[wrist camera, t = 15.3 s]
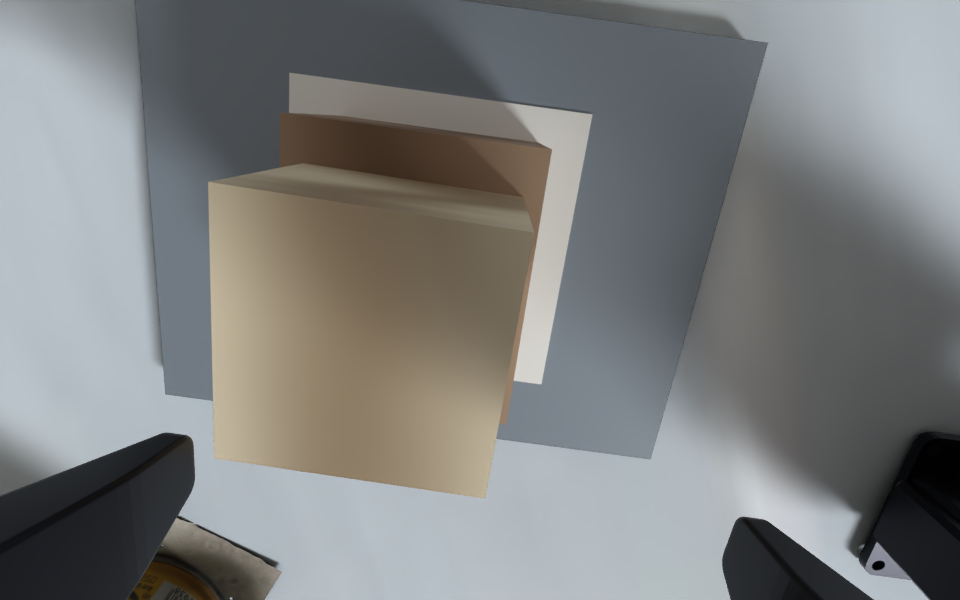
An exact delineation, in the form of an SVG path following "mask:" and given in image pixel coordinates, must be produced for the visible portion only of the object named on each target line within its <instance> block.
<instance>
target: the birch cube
mask: <svg viewBox="0 0 960 600" xmlns="http://www.w3.org/2000/svg"><path fill="white" fill-rule="evenodd" d="M208 200H209V245H210V289H211V333H212V378H213V422H214V458H216V459H223V460H229V461H236V462H243V463H250V464H256V465H263V466H270V467H277V468H283V469H290V470H297V471H303V472H310V473H317V474H324V475H330V476H337V477H344V478H351V479H357V480H364V481H371V482H378V483H384V484H391V485H398V486H405V487H411V488H418V489H425V490H432V491H438V492H445V493H452V494H458V495H465V496H472V497H479V498H485V497H486V491H487V486H488V480H489V475H490V470H491V464H492V459H493V453H494V448H495V443H496V437H497V432H498V426H499V421H500V416H501V410H502V405H503V399H504V394H505V389H506V383H507V378H508V372H509V367H510V362H511V356H512V351H513V345H514V340H515V335H516V329H517V324H518V318H519V313H520V308H521V302H522V297H523V291H524V286H525V281H526V275H527V270H528V264H529V259H530V254H531V248H532V243H533V237H534V229H533V226H532V223H531V220H530V217H529V213H528V210H527V207H526V204H525V201H524V197H518V196H512V195H505V194H499V193H492V192H486V191H480V190H473V189H467V188H460V187H454V186H447V185H441V184H435V183H428V182H422V181H415V180H409V179H402V178H396V177H390V176H383V175H377V174H370V173H364V172H357V171H351V170H345V169H338V168H332V167H325V166H319V165H312V164H306V163H301V164H296V165H291V166H286V167H281V168H276V169H271V170H266V171H261V172H256V173H251V174H246V175H241V176H235V177H230V178H225V179H220V180H215V181H210V182H208Z"/></svg>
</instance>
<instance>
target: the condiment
mask: <svg viewBox="0 0 960 600" xmlns="http://www.w3.org/2000/svg"><path fill="white" fill-rule="evenodd" d="M162 544H163V545H164V547H161V548H159V549H158V551H157V552H156V554H155V556H154V557H153V559H152V561H151V563H150V564H149V566H148V568H147V569H146V571H145V573H144V574H143V576H142V578H141V579H140V581H139V582H138V584H137V585H136V587H135V588H134V590H133V591H132V593H131V594H130V595H129V597H128V598H127V600H230V599H229V598H230V597H232V598H233V600H265V598H266V596H267V595H268V593H269V592H270V590H271V588H272V587H273V585H274V584H275V582H276V581H277V579H278V577H279V576H280V574H281V573H282V572H281V571H279V570H277V569H276V568H274V567H272V566H270V565H268V564H266V563H265V562H264V561H263V560H262V559H260V558H258V557H255V556H253V555H252V554H250V553H248V552H246V551H244V550H242V549H240V548H237V547H235V546H234V545H232V544H231V543H230V542H228V541H226V540H224V539H221V538H219V537H217V536H215V535H213V534H211V533H209V532H207V531H204V530H202V529H200V528H198V526H197V525H196V524H194V523H189V522H186V521H183V520H180V519H178V518H176V519H175V521H174V523H173V525H172V526H171V528H170V530H169V532H168V533H167V535H166V537H165V538H164V540H163V542H162Z"/></svg>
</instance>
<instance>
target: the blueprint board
mask: <svg viewBox="0 0 960 600" xmlns="http://www.w3.org/2000/svg"><path fill="white" fill-rule="evenodd" d="M135 3H136V16H137V30H138V43H139V56H140V69H141V82H142V95H143V108H144V121H145V134H146V147H147V160H148V173H149V186H150V199H151V213H152V226H153V239H154V252H155V265H156V278H157V291H158V304H159V317H160V330H161V343H162V356H163V369H164V382H165V394H167V395H174V396H182V397H189V398H196V399H204V400H211V401H213V378H212V333H211V289H210V245H209V200H208V182H210V181H215V180H220V179H225V178H230V177H235V176H241V175H246V174H251V173H256V172H261V171H266V170H271V169H276V168H279V137H280V112H281V113H300V114H319V115H338V116H347V117H354V118H361V119H369V120H376V121H383V122H391V123H398V124H406V125H413V126H420V127H428V128H435V129H442V130H450V131H457V132H465V133H472V134H479V135H487V136H494V137H501V138H509V139H516V140H524V141H531V142H538V143H540V144H542V145H544V146H546V147H548V148H550V149H552V153H551V159H550V165H549V171H548V177H547V183H546V189H545V195H544V201H543V207H542V213H541V219H540V225H539V231H538V237H537V243H536V249H535V255H534V261H533V267H532V273H531V279H530V285H529V291H528V297H527V303H526V309H525V315H524V321H523V327H522V333H521V339H520V345H519V351H518V357H517V363H516V369H515V375H514V381H513V387H512V393H511V399H510V405H509V411H508V417H507V423H506V425H505V424H499V426H498V432H497V437H496V439H502V440H510V441H517V442H525V443H532V444H540V445H547V446H554V447H562V448H569V449H577V450H584V451H592V452H599V453H607V454H614V455H622V456H629V457H636V458H644V459H651V456H652V452H653V449H654V445H655V442H656V438H657V435H658V431H659V428H660V424H661V421H662V417H663V413H664V410H665V406H666V403H667V399H668V396H669V392H670V389H671V385H672V381H673V378H674V374H675V371H676V367H677V364H678V360H679V357H680V353H681V349H682V346H683V342H684V339H685V335H686V332H687V328H688V325H689V321H690V318H691V314H692V310H693V307H694V303H695V300H696V296H697V293H698V289H699V286H700V282H701V278H702V275H703V271H704V268H705V264H706V261H707V257H708V254H709V250H710V246H711V243H712V239H713V236H714V232H715V229H716V225H717V222H718V218H719V215H720V211H721V207H722V204H723V200H724V197H725V193H726V190H727V186H728V183H729V179H730V175H731V172H732V168H733V165H734V161H735V158H736V154H737V151H738V147H739V143H740V140H741V136H742V133H743V129H744V126H745V122H746V119H747V115H748V112H749V108H750V104H751V101H752V97H753V94H754V90H755V87H756V83H757V80H758V76H759V72H760V69H761V65H762V62H763V58H764V55H765V51H766V48H767V44H768V43H765V42H758V41H751V40H744V39H736V38H729V37H722V36H715V35H708V34H700V33H693V32H686V31H679V30H672V29H665V28H657V27H650V26H643V25H636V24H629V23H622V22H614V21H607V20H600V19H593V18H586V17H579V16H571V15H564V14H557V13H550V12H543V11H536V10H528V9H521V8H514V7H507V6H500V5H492V4H485V3H478V2H471V1H464V0H135Z"/></svg>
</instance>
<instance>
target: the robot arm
mask: <svg viewBox="0 0 960 600" xmlns="http://www.w3.org/2000/svg"><path fill="white" fill-rule="evenodd" d="M932 445H933V446H932ZM930 446H932V447H931V448H929V447H930ZM194 481H195V466H194V446H193V441H192V439H191V438H190V437H189V436H187V435H181V434H174V433H162V434H159V435H157V436H154V437H151V438H149V439H146V440H144V441H141V442H138V443H136V444H133V445H131V446H128V447H126V448H123V449H120V450H118V451H115V452H113V453H110V454H107V455H105V456H102V457H100V458H97V459H94V460H92V461H89V462H87V463H84V464H82V465H79V466H76V467H74V468H71V469H69V470H66V471H63V472H61V473H58V474H56V475H53V476H50V477H48V478H45V479H43V480H40V481H38V482H35V483H32V484H30V485H27V486H25V487H22V488H19V489H17V490H14V491H12V492H9V493H7V494H4V495H1V496H0V600H127V598H128V597H129V595H130V594H131V593H132V591H133V590H134V588H135V587H136V585H137V584H138V582H139V581H140V579H141V578H142V576H143V574H144V573H145V571H146V569H147V568H148V566H149V564H150V563H151V561H152V559H153V557H154V556H155V554H156V552H157V551H158V549H159V547H160V545H161V544H162V542H163V540H164V538H165V537H166V535H167V533H168V532H169V530H170V528H171V526H172V525H173V523H174V521H175V519H176V518H177V516H178V514H179V513H180V511H181V509H182V507H183V506H184V504H185V502H186V500H187V499H188V497H189V495H190V493H191V491H192V489H193V486H194ZM859 562H860V564H861V565H862V566H863V567H864V569H865V570H866V571H867V572H868V573H869V574H872V575H877V576H885V577H892V578H900V579H907V580H912V581H913V582H914V583H915V585H916V586H917V587H918V588H919V589H920V590H921V591H922V592H923V593H924V595H925V596H926V597H927V598H928V599H929V600H960V436H958V435H951V434H943V433H936V432H926V433H923V434H921V435H919V436H918V437H917V438H916V439H915V440H914V442H913V444H912V446H911V448H910V450H909V452H908V454H907V457H906V459H905V461H904V463H903V465H902V467H901V469H900V471H899V474H898V476H897V478H896V480H895V482H894V484H893V486H892V488H891V491H890V493H889V495H888V497H887V499H886V501H885V503H884V505H883V508H882V510H881V512H880V514H879V516H878V518H877V520H876V522H875V524H874V527H873V529H872V531H871V533H870V535H869V537H868V539H867V541H866V544H865V546H864V548H863V550H862V552H861V554H860V557H859ZM722 567H723V573H724V576H725V580H726V584H727V588H728V591H729V595H730V599H731V600H873V599H872V598H871V597H869V596H868V595H867V594H865V593H864V592H863V591H861V590H860V589H858V588H857V587H856V586H854V585H853V584H852V583H850V582H849V581H848V580H846V579H845V578H844V577H842V576H841V575H840V574H838V573H837V572H836V571H834V570H833V569H831V568H830V567H829V566H827V565H826V564H825V563H823V562H822V561H821V560H819V559H818V558H817V557H815V556H814V555H813V554H811V553H810V552H809V551H807V550H806V549H805V548H803V547H802V546H800V545H799V544H798V543H796V542H795V541H794V540H792V539H791V538H790V537H788V536H787V535H786V534H784V533H783V532H782V531H780V530H779V529H778V528H776V527H775V526H773V525H772V524H771V523H769V522H768V521H766V520H763V519H757V518H750V517H740V518H738V519H737V520H736V522H735V524H734V526H733V529H732V532H731V535H730V537H729V540H728V543H727V545H726V548H725V551H724V554H723V559H722Z"/></svg>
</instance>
